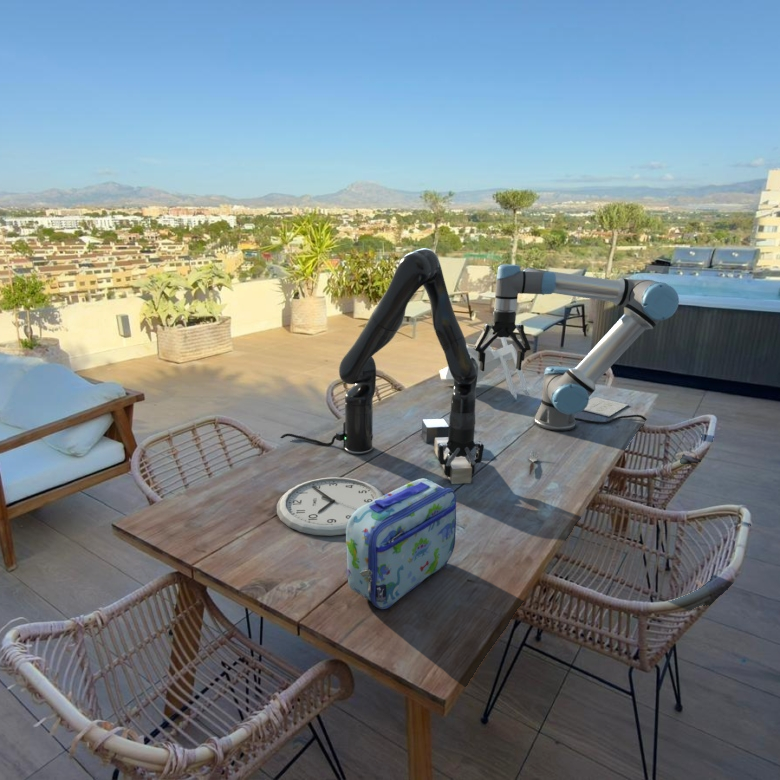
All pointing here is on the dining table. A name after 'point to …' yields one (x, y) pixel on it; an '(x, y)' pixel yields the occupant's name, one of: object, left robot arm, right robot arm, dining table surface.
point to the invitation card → (603, 406)
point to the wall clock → (324, 504)
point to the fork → (533, 461)
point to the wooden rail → (456, 465)
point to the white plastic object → (492, 365)
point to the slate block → (434, 429)
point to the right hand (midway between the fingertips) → (500, 369)
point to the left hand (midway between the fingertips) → (458, 475)
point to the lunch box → (400, 540)
